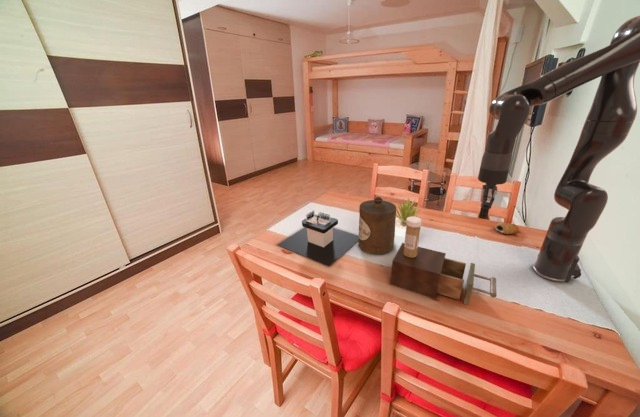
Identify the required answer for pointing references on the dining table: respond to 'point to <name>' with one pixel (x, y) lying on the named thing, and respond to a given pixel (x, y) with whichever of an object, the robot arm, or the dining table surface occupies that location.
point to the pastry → (506, 228)
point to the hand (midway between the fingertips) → (482, 217)
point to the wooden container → (377, 226)
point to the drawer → (461, 281)
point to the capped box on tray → (320, 239)
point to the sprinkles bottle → (412, 236)
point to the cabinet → (418, 271)
